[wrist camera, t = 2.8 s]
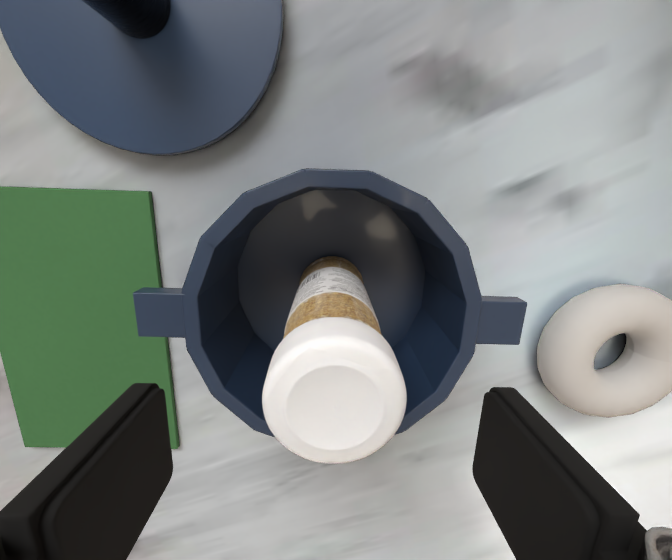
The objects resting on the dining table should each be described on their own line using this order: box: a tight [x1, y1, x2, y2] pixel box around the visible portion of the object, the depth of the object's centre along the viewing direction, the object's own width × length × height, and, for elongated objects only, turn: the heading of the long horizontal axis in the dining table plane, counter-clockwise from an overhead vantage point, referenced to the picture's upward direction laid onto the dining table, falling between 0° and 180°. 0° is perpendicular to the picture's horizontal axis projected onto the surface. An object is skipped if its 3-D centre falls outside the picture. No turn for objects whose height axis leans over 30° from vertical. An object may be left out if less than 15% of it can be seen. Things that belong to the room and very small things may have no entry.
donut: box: [537, 284, 672, 418], centre depth 23 cm, size 10×4×10 cm
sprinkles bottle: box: [262, 256, 407, 464], centre depth 16 cm, size 5×5×14 cm
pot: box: [133, 168, 527, 437], centre depth 20 cm, size 15×20×7 cm
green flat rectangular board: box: [0, 187, 179, 449], centre depth 23 cm, size 20×12×1 cm, turn 178°
